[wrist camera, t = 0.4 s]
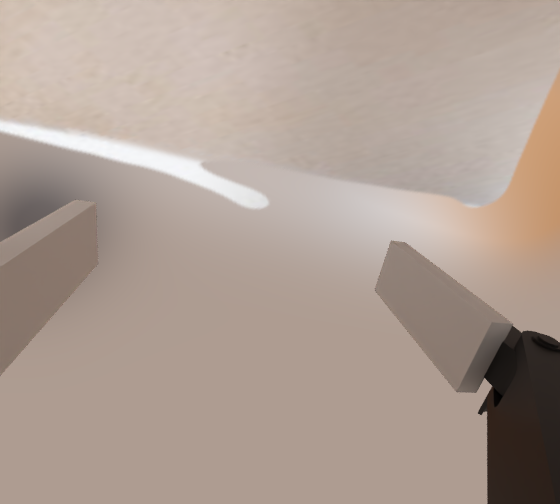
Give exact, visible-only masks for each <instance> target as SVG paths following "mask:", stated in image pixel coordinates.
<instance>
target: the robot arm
mask: <svg viewBox="0 0 560 504" xmlns="http://www.w3.org/2000/svg"><path fill="white" fill-rule="evenodd" d="M97 265H98V245H97V215H96V203H95V202H88V201H80V200H74V201H72V202H71V203H69V204H67V205H65V206H63V207H62V208H60V209H58V210H56V211H55V212H53V213H51V214H49V215H48V216H46V217H44V218H42V219H41V220H39V221H37V222H36V223H33V224H32V225H30V226H28V227H26V228H25V229H23V230H21V231H19V232H18V233H16V234H14V235H12V236H11V237H9V238H7V239H5V240H4V241H2V242H0V376H1V375H2V373H3V372H4V371H5V370H6V369H7V368H8V366H9V365H10V364H11V363H12V362H13V361H14V360H15V358H16V357H17V356H18V355H19V354H20V353H21V351H22V350H23V349H24V348H25V347H26V346H27V345H28V344H29V342H30V341H31V340H32V339H33V338H34V337H35V336H36V334H37V333H38V332H39V331H40V330H41V329H42V327H43V326H44V325H45V324H46V323H47V322H48V321H49V320H50V318H51V317H52V316H53V315H54V314H55V313H56V312H57V310H58V309H59V308H60V307H61V306H62V305H63V303H64V302H65V301H66V300H67V299H68V298H69V297H70V295H71V294H72V293H73V292H74V291H75V290H76V289H77V287H78V286H79V285H80V284H81V283H82V282H83V281H84V280H85V278H86V277H87V276H88V275H89V274H90V273H91V272H92V270H93V269H94V268H95V267H96V266H97ZM375 291H376V293H377V294H378V295H379V296H380V297H381V299H382V300H383V301H384V302H385V304H386V305H387V306H388V307H389V309H390V310H391V311H392V312H393V314H394V315H395V316H396V317H397V319H398V320H399V321H400V322H401V323H402V325H403V326H404V327H405V329H406V330H407V331H408V332H409V334H410V335H411V336H412V337H413V339H414V340H415V341H416V342H417V343H418V345H419V346H420V347H421V348H422V350H423V351H424V352H425V353H426V355H427V356H428V357H429V359H430V360H431V361H432V362H433V364H434V365H435V366H436V367H437V369H438V370H439V371H440V372H441V374H442V375H443V376H444V377H445V379H447V381H448V382H449V383H450V385H451V386H452V387H453V388H454V390H455V391H456V392H472V393H473V392H474V393H476V392H477V390H478V389H479V387H480V385H481V383H482V381H483V379H484V378H485V379H486V380H487V381H488V382H489V383H490V384H491V385H492V388H491V390H490V391H489V393H488V395H487V397H486V399H485V401H484V402H483V404H482V406H481V408H480V410H479V412H478V414H480V415H482V413H483V412H485V411H487V457H488V458H487V474H488V475H487V478H488V479H487V481H488V482H487V483H488V486H487V487H488V489H487V490H488V504H560V343H559V342H558V341H557V340H555V339H554V338H552V337H550V336H547V335H544V334H540V333H537V332H533V331H523V332H522V333H521V332H520V331H519V330H517V329H516V328H515V327H513V326H512V325H513V323H511V322H510V321H509V320H507V319H506V318H505V317H503V316H502V315H501V314H499V313H498V312H497V311H495V310H494V309H493V308H491V307H490V306H489V305H487V304H486V303H485V302H484V301H482V300H481V299H480V298H478V297H477V296H476V295H474V294H473V293H472V292H470V291H469V290H467V289H466V288H465V287H464V286H462V285H461V284H459V283H458V282H457V281H456V280H454V279H453V278H452V277H450V276H449V275H448V274H446V273H445V272H444V271H442V270H441V269H440V268H438V267H437V266H436V265H434V264H433V263H432V262H430V261H429V260H428V259H426V258H425V257H424V256H422V255H421V254H420V253H418V252H417V251H416V250H414V249H413V248H412V247H410V246H409V245H408V244H406V243H405V242H397V241H391V242H390V245H389V248H388V251H387V254H386V257H385V260H384V263H383V267H382V270H381V272H380V276H379V279H378V282H377V285H376V288H375Z"/></svg>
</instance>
